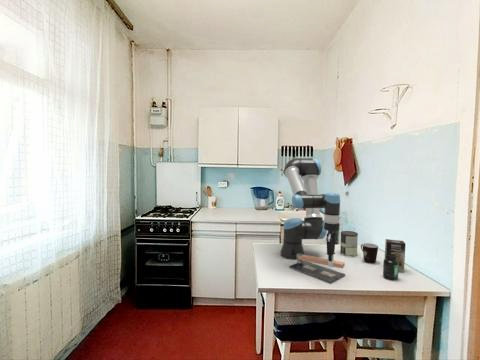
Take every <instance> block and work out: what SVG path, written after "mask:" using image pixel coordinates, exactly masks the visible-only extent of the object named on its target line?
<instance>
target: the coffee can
mask: <svg viewBox="0 0 480 360" xmlns="http://www.w3.org/2000/svg"><path fill="white" fill-rule="evenodd" d="M358 236H359V233H358V232H356V231H353V230H342V231H340V255H342V256H345V257H348V258H349V257H352V258H353V257H354V258H355V257H357V256H358V241H359V240H358Z"/></svg>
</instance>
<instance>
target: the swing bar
mask: <svg viewBox="0 0 480 360" xmlns="http://www.w3.org/2000/svg"><path fill="white" fill-rule="evenodd" d="M297 260H302V261H307V262H310V263H313V264H316V265H321V266H327V265H328V258H323V257H320V256H319V257H318V256H313V255H308V254H305V255H303V254H297V259H296V261H297ZM345 264H346V263H345V261H341V260H335V259H334V261H333V267H332V268H338V269H344V268H345Z"/></svg>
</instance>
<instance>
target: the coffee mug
mask: <svg viewBox="0 0 480 360" xmlns="http://www.w3.org/2000/svg"><path fill="white" fill-rule="evenodd" d="M360 249H361V251H362V252H363V262H364V263H366V264H370V265H373V264H376V263H377V257H378V256H377V255H378V251H379V245H377V244H374V243H371V242H370V243H369V242H365V243H362V244H361V245H360Z"/></svg>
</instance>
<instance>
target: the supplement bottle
mask: <svg viewBox="0 0 480 360" xmlns="http://www.w3.org/2000/svg"><path fill="white" fill-rule="evenodd" d="M382 264H383V265H382V276H383V278H384V279H386V280H388V281H397V280H398V279H399V272H398V269H399V263H398V261H397V256H396V255H395V254H386V259H385V258H384V260H383V263H382Z"/></svg>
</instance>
